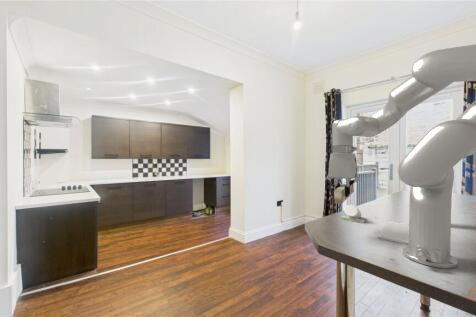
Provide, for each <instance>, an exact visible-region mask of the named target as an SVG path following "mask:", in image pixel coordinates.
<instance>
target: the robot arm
mask: <svg viewBox="0 0 476 317" xmlns="http://www.w3.org/2000/svg"><path fill="white" fill-rule="evenodd" d="M458 82H460V83H461V82H476V43H475V44H469V45H461V46H455V47H449V48H448V47H446V48H443V49H442V48H441V49H436V50H433V51H430V52H427V53H425V54H423V55H422V56H420V57H419V58H418V59H417V60H416V61H415V62H414V64H413V66H412V69H411V76H409V77H407V79H405V80H404V81H403V82H401V83H400V84H399V85H396V87H394V88H393V89H392V90H390V92H389V93H388V101H387V102H386V105H384V107H383V108H382V109H380V110H378V112H376V113H375V114H373V115H372V116H365V115H356V116H351V117H349V118H344V119H343V118H342V119H337V120H334V121H333V122H332V124H331V125H332V126H331V127H332V129H331V130H332V132H331V133H332V134H331V135H332V137H331V138H332V140H331V143H332V144H331V145H332V153H331V154H330V156H329V160H328V174H327V175H326V177H325V178H326V180H328V181H330V182H331V183H332V184H333V186H335V188H334V189H335V190H336V189H337V188H338V187H340V186H341V185H340V179H345V182H346V187H345V197H347V196H349V195H350V186H351V185H352V184H353V185H354V184H355V183H357V182H359V181H361V178H360V176H359V173H358V172H359V171H358V160H357V155H356V154H355V153H354V152H355V151H358V147H357V146H354V137H360V138H361V137H363V138H364V137H365V138H373V137H375V136H377V135H379V134H381V133H383V132H385V131H386V130H387V129H390V128H391V127H392V126H395V124H397V123H398V122H399V121H400V120H401V119H402V118H403V117H404V116H405V115H406V114H407V113H408V112H410V111H411V110H412V109H414V108H415V107H417V106H418V105H420V104H422V103H423V102H424V101H426V100H428V99H429V98H431V97H433V96H434V95H436V94H437V93H439V92H441V91H443V90H444V89H445V88H447V87H448V86H450V85H452V84H453V83H458ZM475 154H476V99H475V100H474V101H473V102H472V103H470V105H469V106H468V107H466V109H465V110H464V111H463V112H462V113H461V114H460V115H458V117H457V118H456V119H452V120H451V119H450V120H446V121H443V122H441V123H439V124H437V125H435V126H434V127H432V128H431V129H430V130H429V131H428V132H427V133H426V134H425V135H424V136H423V137H422V138H421V139H420V140H419V141H418V142H417V143H416V144H415V146H414V147H413V148H411V150H410V151H409V152H408V153H407V155H405V156H404V157H403V158H402V160H401V162H400V163H399V165H398V170H397V171H398V177H399V179H400V180H401V182H403V183H404V184H406V185H407V186H409V187H410V189H409V203H408V204H409V205H408V207H409V210H408V212H409V213H408V215H409V216H408V218H409V219H408V224H409V244H408V246H404V247H403V248H402V254H403V255H404V256H405V257H406V258H408V259H410V260H412V261H413V262H416V263H418V264H421V265H425V266H429V267H433V268H438V269H454V268H457V267H459V266H458V265H459V264H458V263H459V262H458V259H457V258H456V257H454V256H452V255H451V249H452V248H451V244H452V242H451V240H452V239H451V236H452V234H451V232H452V201H453V200H452V197H453V196H452V195H453V186H454V180H455V170H454V169H455V168H454V167H455V166H456V165H458V163H459V162H460V161H461V160H463V159H464V158H465V157H470V156H472V155H475ZM350 196H351V195H350ZM350 196H349V197H350Z"/></svg>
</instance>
